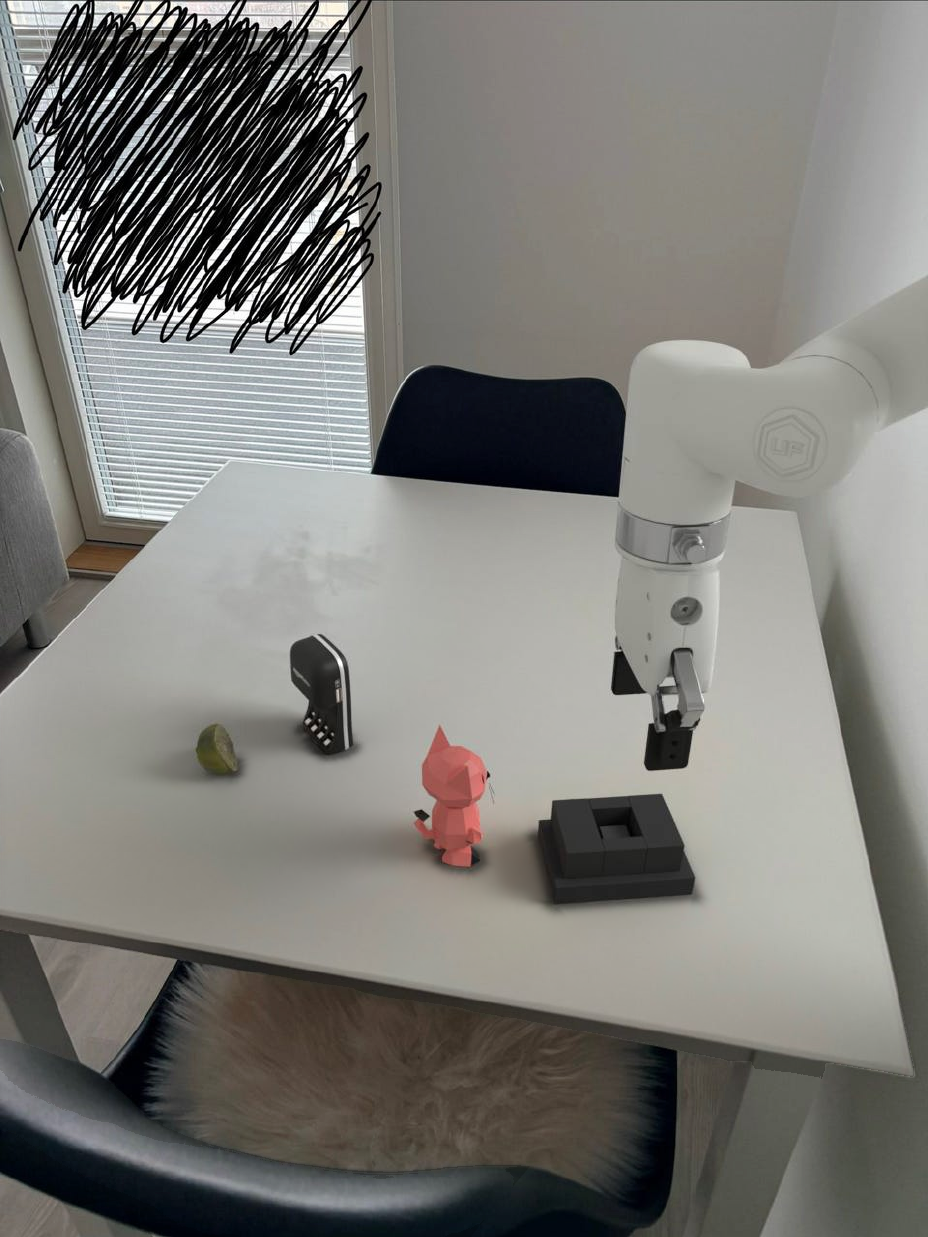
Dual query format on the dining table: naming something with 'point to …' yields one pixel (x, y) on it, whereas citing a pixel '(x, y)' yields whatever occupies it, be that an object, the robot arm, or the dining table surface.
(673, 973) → the dining table surface
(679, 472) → the robot arm
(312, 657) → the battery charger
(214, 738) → the lime
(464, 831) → the cat figurine
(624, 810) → the black socket block
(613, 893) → the base pad
